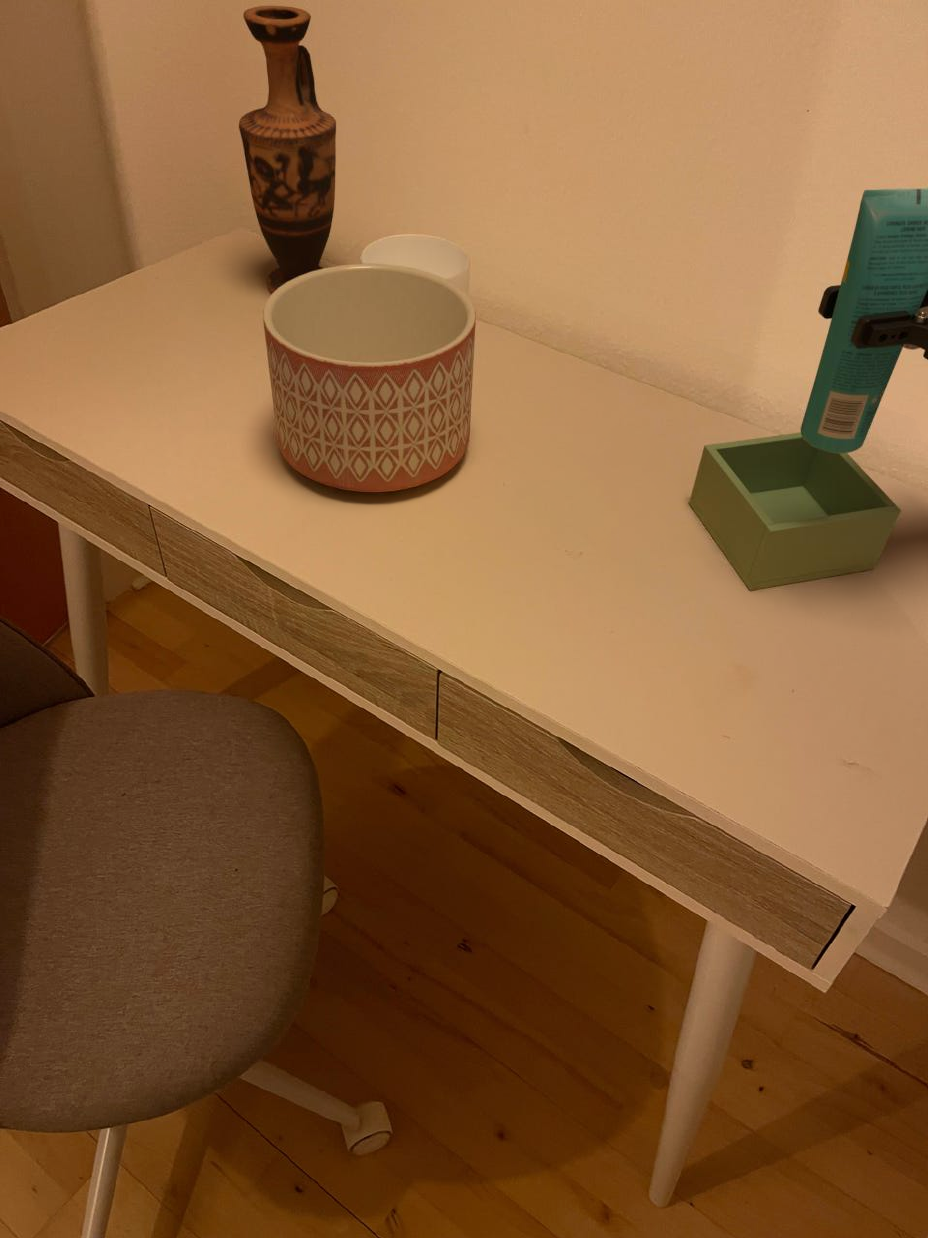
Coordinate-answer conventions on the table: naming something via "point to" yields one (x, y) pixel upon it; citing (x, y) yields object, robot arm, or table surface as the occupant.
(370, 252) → the cup
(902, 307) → the tube
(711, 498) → the basket
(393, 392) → the planter
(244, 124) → the vase
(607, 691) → the table surface
